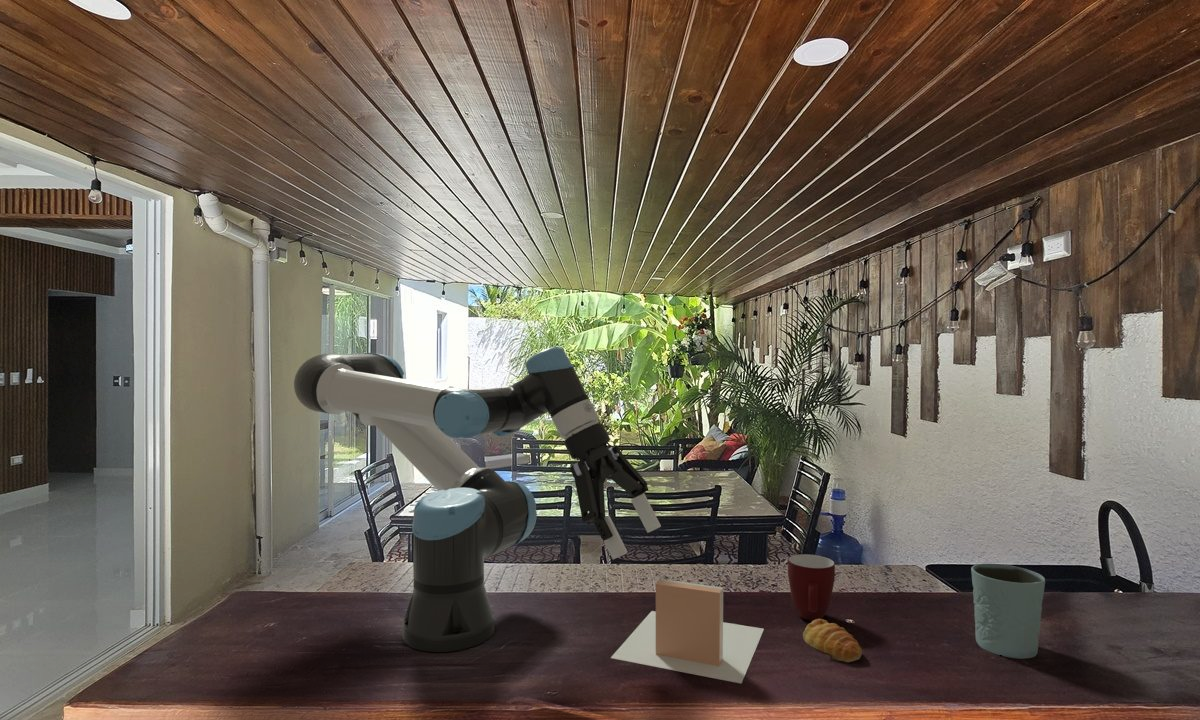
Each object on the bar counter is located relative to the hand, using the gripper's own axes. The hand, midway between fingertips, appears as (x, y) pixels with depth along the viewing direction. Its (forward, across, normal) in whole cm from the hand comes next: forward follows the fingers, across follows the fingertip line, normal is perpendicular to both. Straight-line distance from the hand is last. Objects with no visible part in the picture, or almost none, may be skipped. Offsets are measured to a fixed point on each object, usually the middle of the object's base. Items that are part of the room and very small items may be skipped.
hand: (638, 542), depth 112 cm
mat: (+18, -2, -1) cm, 18 cm away
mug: (+27, +18, -14) cm, 35 cm away
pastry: (+29, +8, -18) cm, 35 cm away
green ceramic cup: (+42, +22, -40) cm, 62 cm away
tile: (+18, -7, -3) cm, 19 cm away
